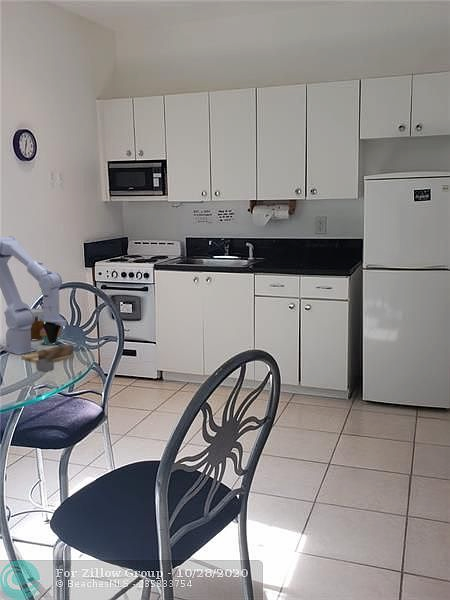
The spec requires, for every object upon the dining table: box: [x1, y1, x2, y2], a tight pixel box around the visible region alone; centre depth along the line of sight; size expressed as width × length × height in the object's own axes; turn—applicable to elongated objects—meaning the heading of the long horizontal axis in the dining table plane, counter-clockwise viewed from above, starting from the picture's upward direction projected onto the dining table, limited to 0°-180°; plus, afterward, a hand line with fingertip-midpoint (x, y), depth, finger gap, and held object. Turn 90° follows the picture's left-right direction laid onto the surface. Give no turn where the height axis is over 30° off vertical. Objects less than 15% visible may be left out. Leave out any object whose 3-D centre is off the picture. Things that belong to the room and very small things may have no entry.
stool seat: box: [21, 351, 75, 364], centre depth 226 cm, size 12×14×1 cm
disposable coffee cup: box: [30, 307, 45, 341], centre depth 252 cm, size 10×10×12 cm
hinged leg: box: [37, 343, 74, 360], centre depth 223 cm, size 14×3×4 cm, turn 142°
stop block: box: [35, 359, 55, 373], centre depth 212 cm, size 5×4×3 cm
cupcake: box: [40, 328, 62, 345], centre depth 246 cm, size 9×8×12 cm
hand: (52, 342), depth 227 cm, fingers closed
